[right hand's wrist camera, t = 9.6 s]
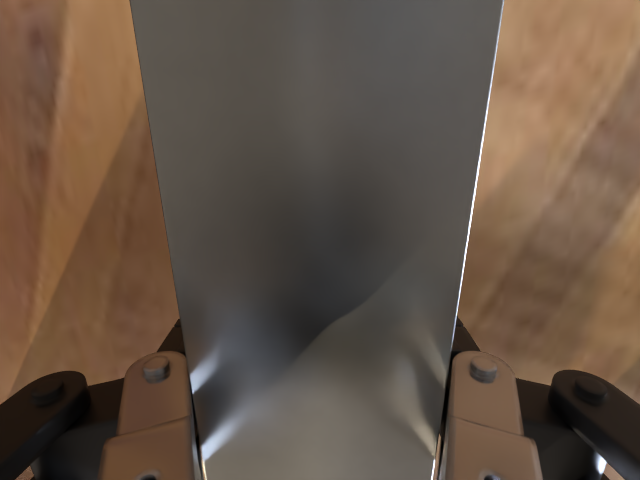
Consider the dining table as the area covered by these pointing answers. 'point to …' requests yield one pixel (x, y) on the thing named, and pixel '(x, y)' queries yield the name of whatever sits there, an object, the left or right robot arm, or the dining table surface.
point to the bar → (317, 220)
